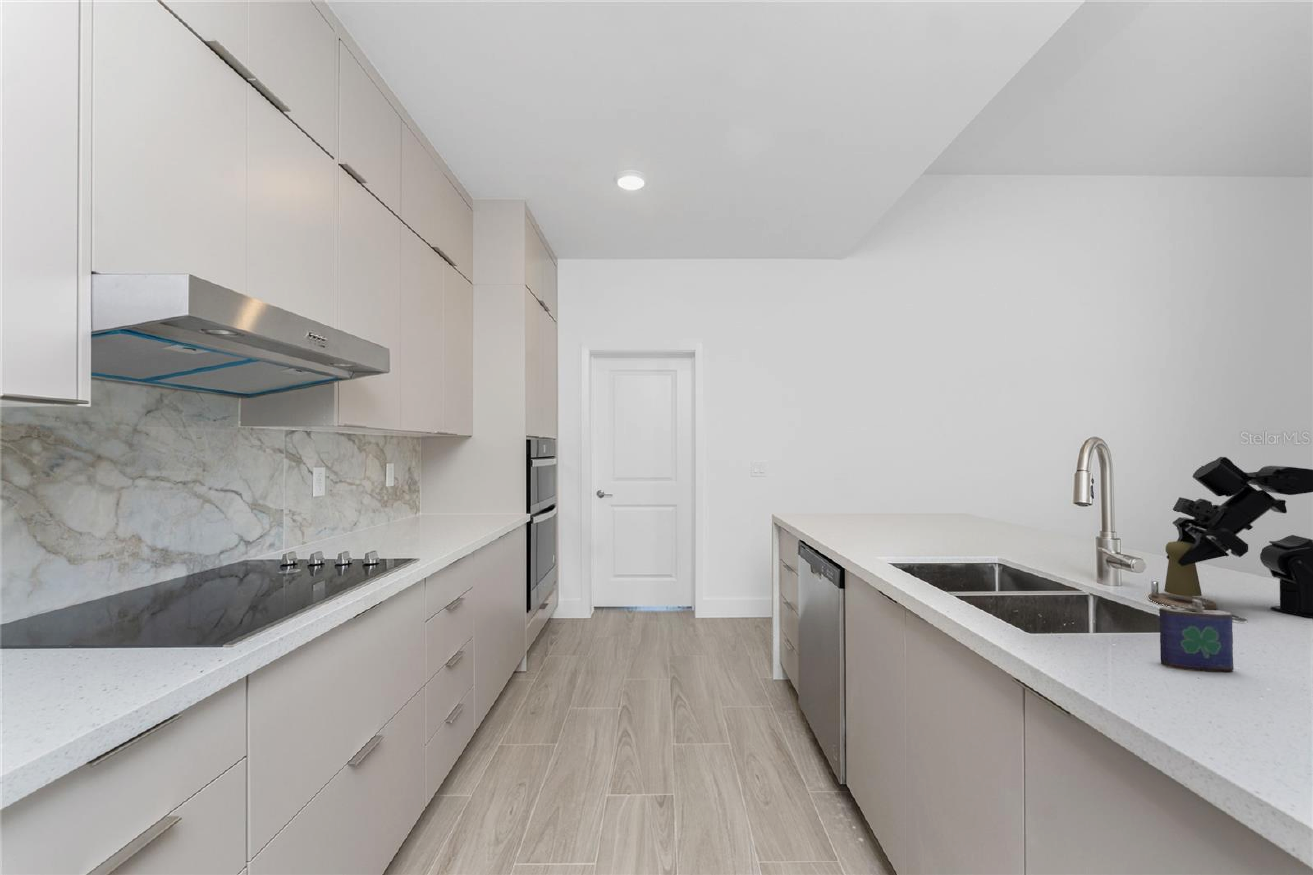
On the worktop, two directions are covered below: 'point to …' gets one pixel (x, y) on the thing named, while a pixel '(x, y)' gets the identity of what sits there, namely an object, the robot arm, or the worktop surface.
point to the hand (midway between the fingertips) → (1173, 561)
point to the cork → (1181, 572)
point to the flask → (1196, 638)
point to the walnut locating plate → (1177, 599)
